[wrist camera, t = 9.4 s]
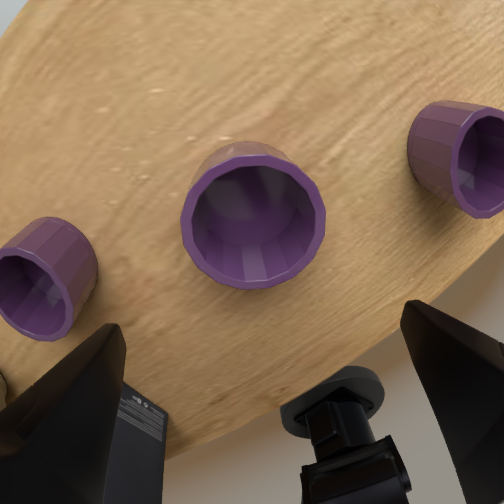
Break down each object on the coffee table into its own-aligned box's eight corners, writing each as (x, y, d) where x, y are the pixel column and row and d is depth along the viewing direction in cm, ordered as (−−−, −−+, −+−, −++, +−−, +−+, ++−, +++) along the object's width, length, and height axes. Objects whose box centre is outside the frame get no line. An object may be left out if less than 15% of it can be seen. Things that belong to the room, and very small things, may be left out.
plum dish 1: (114, 256, 19) (90, 297, 15) (75, 315, 21) (52, 357, 17) (40, 197, 17) (1, 225, 13) (10, 264, 19) (-22, 298, 15)
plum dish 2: (324, 193, 19) (352, 222, 14) (250, 266, 20) (257, 311, 16) (244, 117, 16) (250, 122, 12) (168, 202, 18) (152, 235, 14)
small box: (95, 442, 29) (77, 529, 19) (48, 410, 27) (18, 501, 16) (172, 413, 27) (163, 530, 16) (116, 373, 24) (84, 501, 13)
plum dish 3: (489, 154, 18) (533, 171, 14) (438, 212, 20) (477, 240, 16) (448, 81, 16) (496, 85, 11) (389, 142, 17) (431, 158, 13)
